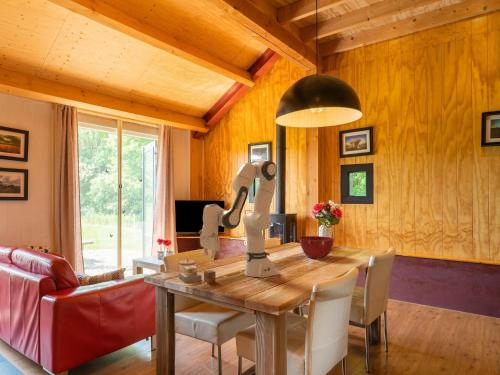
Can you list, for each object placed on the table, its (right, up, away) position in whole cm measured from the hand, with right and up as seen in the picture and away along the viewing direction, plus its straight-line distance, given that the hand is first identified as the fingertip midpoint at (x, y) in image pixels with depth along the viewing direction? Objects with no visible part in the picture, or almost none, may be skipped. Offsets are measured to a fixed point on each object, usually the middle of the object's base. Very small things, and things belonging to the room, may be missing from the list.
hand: (209, 256), depth 184 cm
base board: (-12, -14, +5) cm, 19 cm away
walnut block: (0, -14, 0) cm, 14 cm away
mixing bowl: (+77, -17, +76) cm, 110 cm away
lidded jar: (-16, -15, +17) cm, 27 cm away
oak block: (-12, -11, +5) cm, 17 cm away
